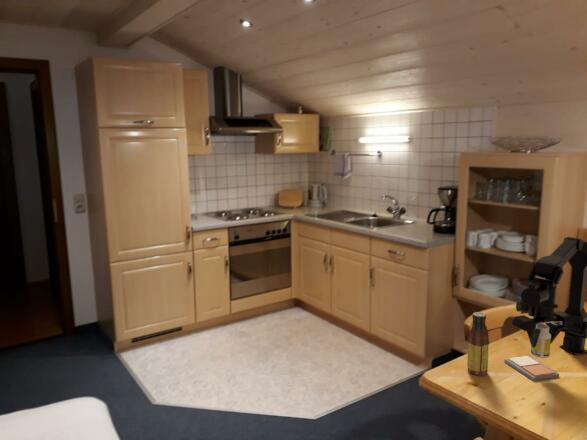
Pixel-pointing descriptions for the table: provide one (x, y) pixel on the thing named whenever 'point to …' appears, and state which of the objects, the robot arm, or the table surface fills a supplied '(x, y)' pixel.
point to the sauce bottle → (478, 346)
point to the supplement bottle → (542, 342)
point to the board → (531, 368)
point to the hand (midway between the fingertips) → (540, 345)
